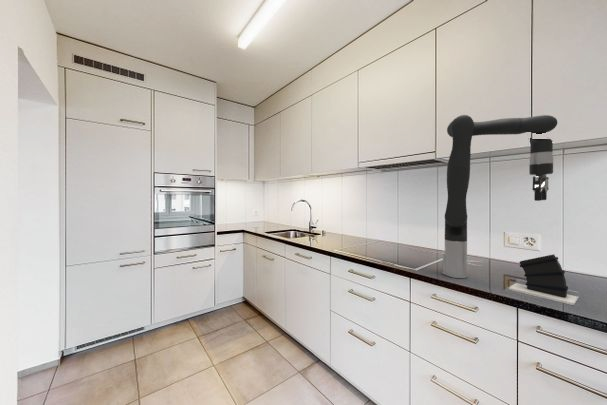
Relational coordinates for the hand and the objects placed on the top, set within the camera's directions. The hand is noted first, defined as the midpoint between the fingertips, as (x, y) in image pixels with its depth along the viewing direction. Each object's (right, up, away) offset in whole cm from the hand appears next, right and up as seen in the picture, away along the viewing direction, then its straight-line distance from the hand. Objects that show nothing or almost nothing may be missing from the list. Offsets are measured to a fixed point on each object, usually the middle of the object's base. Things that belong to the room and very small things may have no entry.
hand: (540, 200), depth 108 cm
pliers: (-10, -36, +33) cm, 50 cm away
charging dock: (-11, -37, -12) cm, 40 cm away
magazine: (-11, -36, -12) cm, 40 cm away
